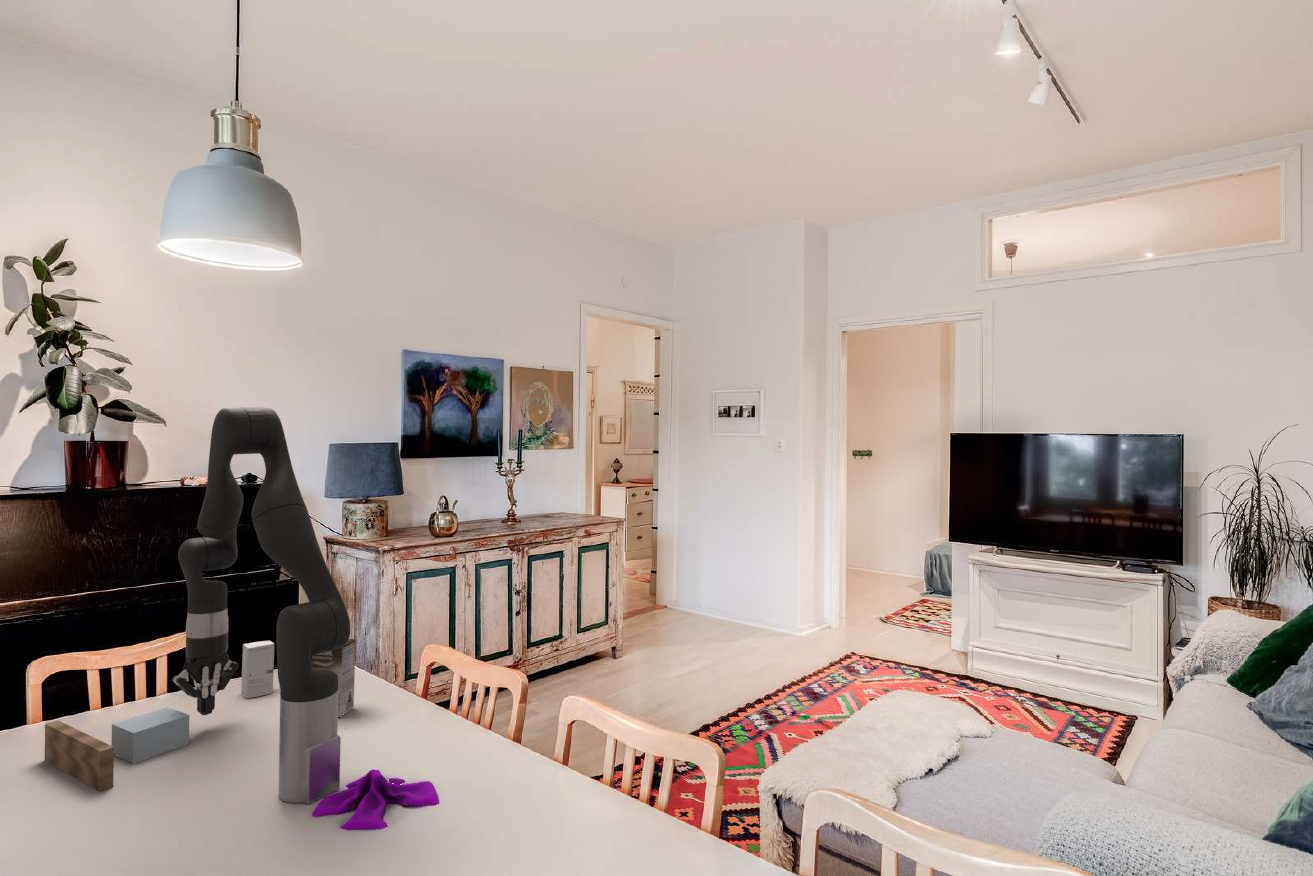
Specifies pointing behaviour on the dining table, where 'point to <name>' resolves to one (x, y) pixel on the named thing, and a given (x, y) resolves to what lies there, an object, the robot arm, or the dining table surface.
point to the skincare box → (257, 669)
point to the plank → (79, 755)
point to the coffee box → (340, 672)
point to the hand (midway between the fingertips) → (206, 713)
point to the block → (150, 734)
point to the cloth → (374, 800)
